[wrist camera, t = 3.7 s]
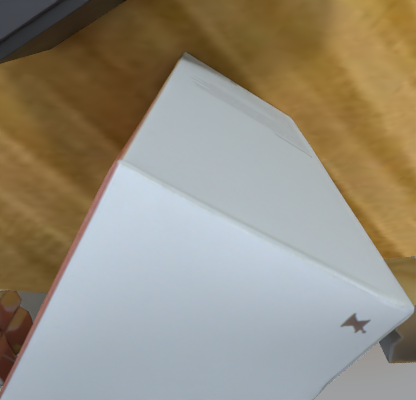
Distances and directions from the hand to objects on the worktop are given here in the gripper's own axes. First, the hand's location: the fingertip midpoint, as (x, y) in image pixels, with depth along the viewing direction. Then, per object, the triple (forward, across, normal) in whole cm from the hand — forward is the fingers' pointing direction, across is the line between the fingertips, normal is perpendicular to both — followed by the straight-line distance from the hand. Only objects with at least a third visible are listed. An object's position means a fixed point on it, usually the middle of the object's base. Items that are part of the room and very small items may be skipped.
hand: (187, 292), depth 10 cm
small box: (+11, 0, +1) cm, 11 cm away
